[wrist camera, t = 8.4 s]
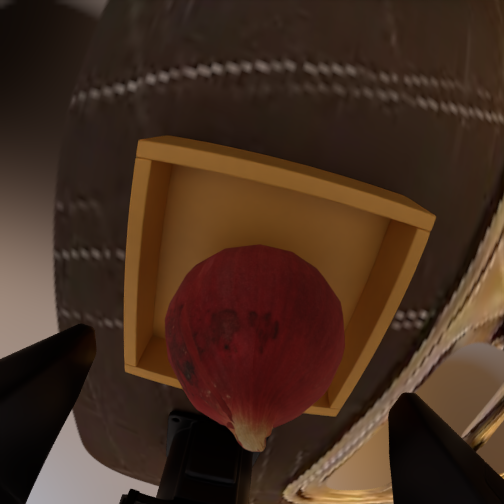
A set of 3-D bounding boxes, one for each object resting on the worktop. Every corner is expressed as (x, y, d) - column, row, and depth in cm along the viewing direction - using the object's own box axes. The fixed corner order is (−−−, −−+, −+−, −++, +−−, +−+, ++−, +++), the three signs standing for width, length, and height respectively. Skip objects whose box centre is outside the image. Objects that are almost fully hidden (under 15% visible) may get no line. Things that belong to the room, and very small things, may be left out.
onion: (172, 297, 14) (100, 437, 7) (235, 189, 12) (175, 294, 5) (278, 353, 15) (276, 503, 8) (354, 264, 13) (421, 412, 6)
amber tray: (329, 375, 16) (336, 416, 13) (144, 334, 16) (124, 372, 13) (405, 196, 12) (437, 216, 9) (167, 135, 12) (137, 139, 9)
